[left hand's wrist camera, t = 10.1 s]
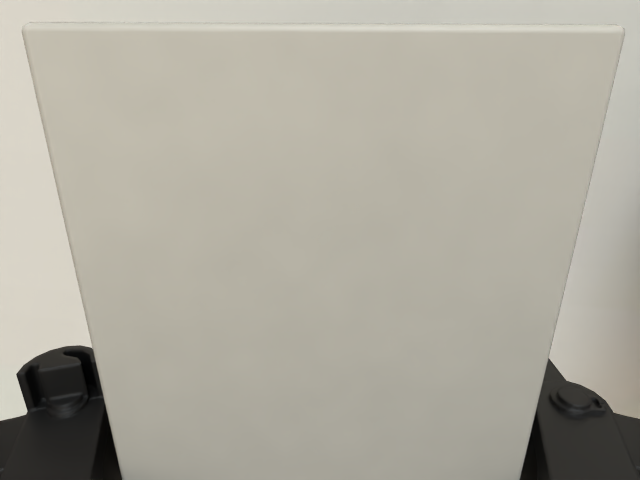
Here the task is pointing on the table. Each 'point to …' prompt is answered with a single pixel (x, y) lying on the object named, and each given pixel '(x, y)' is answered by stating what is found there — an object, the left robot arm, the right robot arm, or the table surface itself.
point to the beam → (322, 235)
